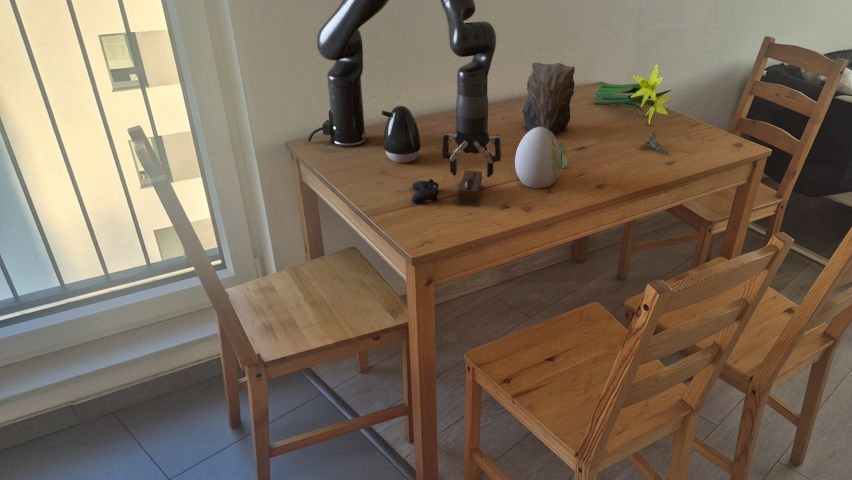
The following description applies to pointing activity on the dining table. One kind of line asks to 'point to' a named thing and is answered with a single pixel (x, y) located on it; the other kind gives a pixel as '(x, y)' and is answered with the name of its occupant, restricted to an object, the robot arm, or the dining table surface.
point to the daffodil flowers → (635, 94)
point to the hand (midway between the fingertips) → (471, 175)
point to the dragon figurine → (652, 143)
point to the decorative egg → (538, 158)
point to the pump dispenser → (401, 135)
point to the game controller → (425, 191)
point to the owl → (549, 97)
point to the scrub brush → (470, 187)
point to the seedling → (564, 160)
